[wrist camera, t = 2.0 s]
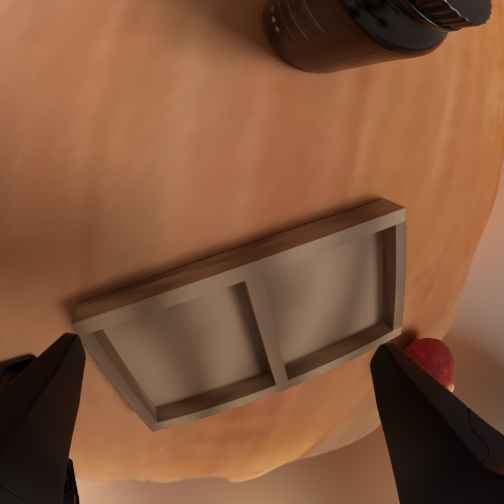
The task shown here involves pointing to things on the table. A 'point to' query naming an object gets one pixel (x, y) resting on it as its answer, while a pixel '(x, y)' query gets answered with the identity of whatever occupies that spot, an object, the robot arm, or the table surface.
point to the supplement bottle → (364, 29)
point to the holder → (252, 316)
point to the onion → (433, 359)
